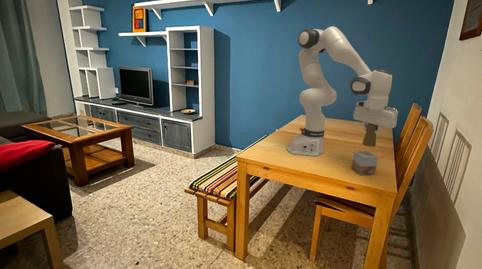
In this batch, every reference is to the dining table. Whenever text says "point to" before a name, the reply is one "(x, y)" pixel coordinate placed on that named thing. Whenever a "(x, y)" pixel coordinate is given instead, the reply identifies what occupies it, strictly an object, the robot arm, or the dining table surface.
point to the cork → (370, 135)
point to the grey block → (365, 158)
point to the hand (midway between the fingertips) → (371, 132)
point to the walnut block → (363, 169)
